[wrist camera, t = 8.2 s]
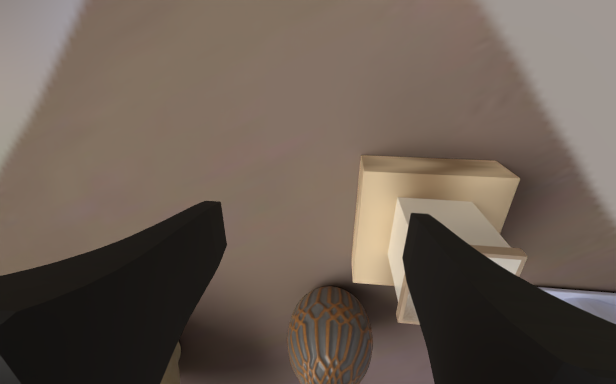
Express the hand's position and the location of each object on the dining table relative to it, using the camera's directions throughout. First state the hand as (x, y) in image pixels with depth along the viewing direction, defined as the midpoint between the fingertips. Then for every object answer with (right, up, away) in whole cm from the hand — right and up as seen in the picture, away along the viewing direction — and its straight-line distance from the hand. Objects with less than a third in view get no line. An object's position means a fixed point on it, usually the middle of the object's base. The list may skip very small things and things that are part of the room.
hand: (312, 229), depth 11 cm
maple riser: (+8, 0, +11) cm, 13 cm away
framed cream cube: (+8, -1, +8) cm, 11 cm away
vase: (+2, -9, +16) cm, 18 cm away
